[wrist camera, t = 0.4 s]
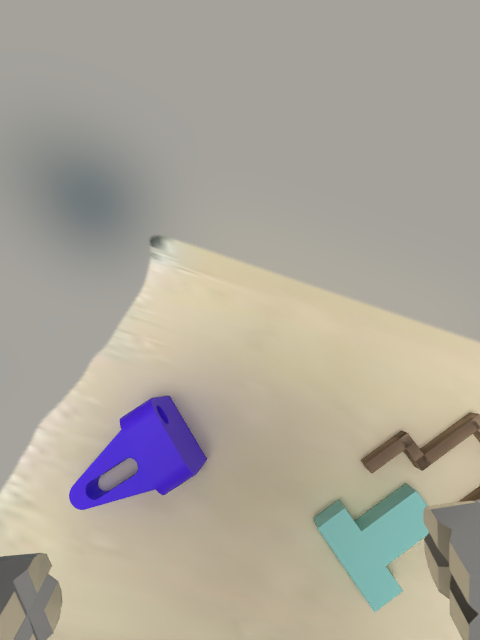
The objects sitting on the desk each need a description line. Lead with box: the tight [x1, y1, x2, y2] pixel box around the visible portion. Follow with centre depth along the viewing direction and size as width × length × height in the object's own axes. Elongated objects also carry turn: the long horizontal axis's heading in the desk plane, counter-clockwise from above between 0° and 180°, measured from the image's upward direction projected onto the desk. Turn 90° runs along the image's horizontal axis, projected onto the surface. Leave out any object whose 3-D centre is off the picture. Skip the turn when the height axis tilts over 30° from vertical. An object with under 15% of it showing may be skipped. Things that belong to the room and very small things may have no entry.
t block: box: [314, 484, 429, 612], centre depth 54 cm, size 12×14×4 cm
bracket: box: [69, 396, 207, 510], centre depth 53 cm, size 18×11×12 cm, turn 123°
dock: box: [361, 413, 480, 502], centre depth 55 cm, size 17×17×2 cm
